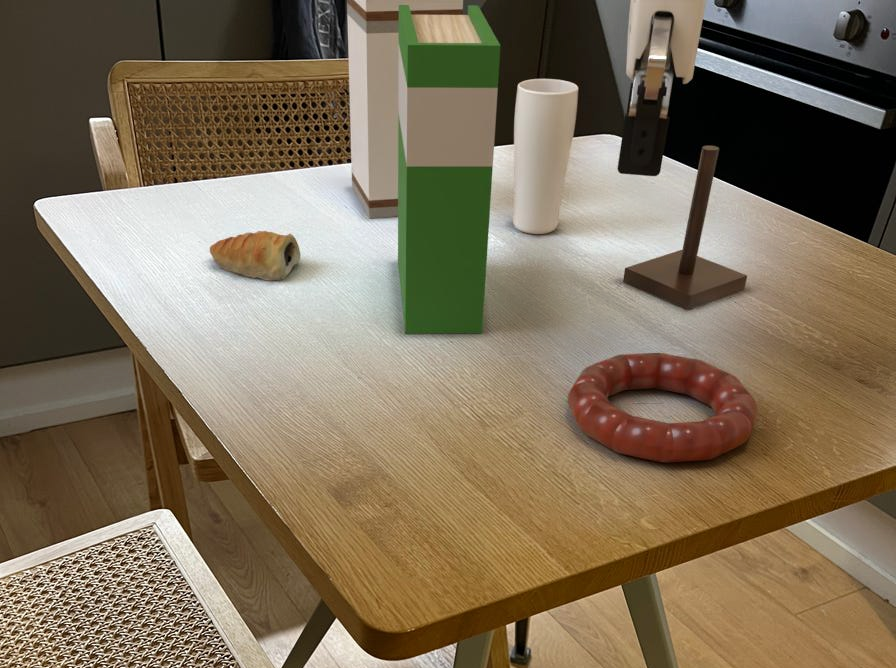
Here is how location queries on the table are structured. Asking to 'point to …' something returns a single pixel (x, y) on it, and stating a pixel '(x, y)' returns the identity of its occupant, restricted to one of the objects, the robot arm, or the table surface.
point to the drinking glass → (542, 151)
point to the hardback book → (445, 167)
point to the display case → (379, 96)
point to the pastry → (257, 254)
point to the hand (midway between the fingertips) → (640, 155)
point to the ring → (656, 436)
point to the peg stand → (689, 256)
